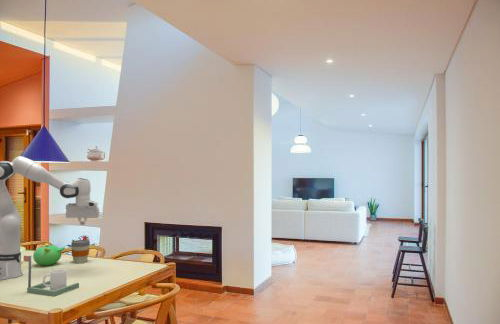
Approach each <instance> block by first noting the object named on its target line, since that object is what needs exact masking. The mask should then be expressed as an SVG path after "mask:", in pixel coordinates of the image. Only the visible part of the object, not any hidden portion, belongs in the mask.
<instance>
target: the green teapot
mask: <svg viewBox="0 0 500 324" xmlns="http://www.w3.org/2000/svg"><path fill="white" fill-rule="evenodd" d="M66 249H67V247H66V246H64V247H58V246H57V245H54V244H49V243H47V242H46V243H44V245H41V246H39V247H38V248H37V249H35V251H33V256H32V260H34V262H35V263H36V264H37V265H40V266H51V265H54V264H56V263H57V262H59V260H60V259H61V257H62V252H63V251H64V250H66Z"/></svg>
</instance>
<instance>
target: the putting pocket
mask: <svg viewBox="0 0 500 324" xmlns="http://www.w3.org/2000/svg"><path fill="white" fill-rule="evenodd" d="M23 262H25V263H26V262H27V263H28V274H27V275H28V277H27V278H28V279H27V281H28V282H27V287H26V292H27V293H29V294H35V295H42V296H47V297H49V296H50V297H57V296H59V295H62V294H64V293H65V294H66V293H68V292H70V291H73V290H76V289H78V288H79V287H80V283H79V282H75V283H73V284H69V285H66V287H63V288H60V289H57V290H50V289H47V288H46V287H45V286H44V285H43V282H41V283H38V284H35V285H31V284H32V255H23ZM45 284H46V285H50V280H48V281H45Z"/></svg>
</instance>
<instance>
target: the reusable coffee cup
mask: <svg viewBox="0 0 500 324" xmlns="http://www.w3.org/2000/svg"><path fill="white" fill-rule="evenodd" d="M90 245H91V242H90V240H89V239H77V240H72V241H71V244H70V246H71V257H72V260H73V264H75V265H76V264H77V265H79V264H80V265H81V264H85V263H88V256H89V255H90V254H89V253H90Z"/></svg>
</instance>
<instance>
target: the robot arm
mask: <svg viewBox="0 0 500 324" xmlns="http://www.w3.org/2000/svg"><path fill="white" fill-rule="evenodd" d="M16 174H18V175H21V176H22V177H24V178H26V179H28V180H30V181H33V182H35V183H36V182H37V183H45V184H48V185H49V186H52V187H53V188H55V189H56V190H59V194H60V196H61V197H63V199H72V198H75V202H73V203H70V202H69V203H67V204H66V205H65V217H66V218H67V219H76V218H77V220H78V221H79V225H80V226H82V225H83V226H84V225H86V222H87V219H88V218H99V217H100V208H99V206H98V205H99V204H98V202H96V201H94V200H91V195H90V194H91V182H90V180H89V179H87V178H81V177H77V178H76V179H74V180H72V181H70V182H68V181H65V180H63V179H61V178H59V177H57V176H55V175H54V174H52V173H51V172H49V171H48V170H47V169H46V168H45V167H43V165H41V164H40V163H38V162H36V161H34V160H32V159H31V158H27V157H25V156H22V155H19V156H16V157H15V158H13V160H12V161H10V160H1V161H0V280H3V281H4V280H9V279H13V278H17V277H21V276H23V274H24V273H23V271H22V264H21V261H22V252H21V224H22V217H21V215H20V213H19V211H18V209H17V207H16V205H15V203H14V201H13V199H12V197H11V194H10V191H9V190H8V187H7V186H6V181H8V180H10V178H12V177H14V176H15V175H16ZM82 219H84V221H82Z"/></svg>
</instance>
